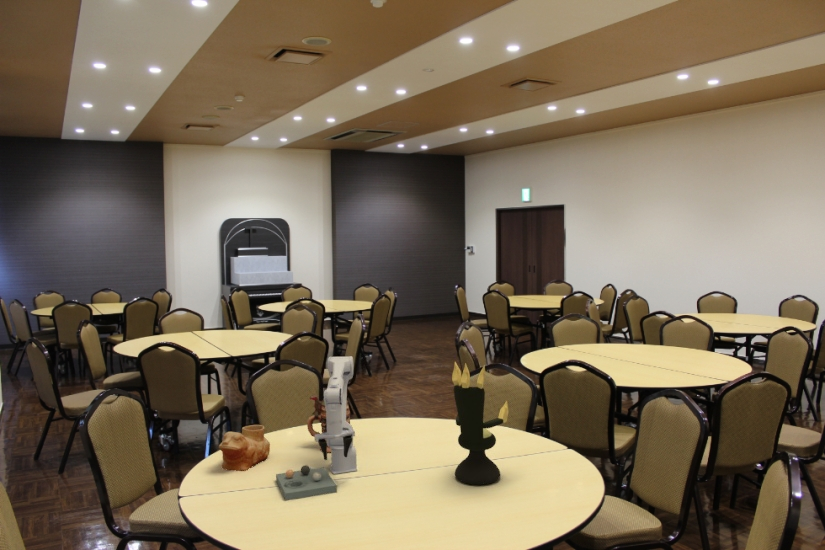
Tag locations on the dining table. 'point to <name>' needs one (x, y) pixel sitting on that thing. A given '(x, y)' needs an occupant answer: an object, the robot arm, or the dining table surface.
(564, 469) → the dining table surface
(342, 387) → the robot arm
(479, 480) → the candelabra
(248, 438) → the ceramic vessel
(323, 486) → the plate
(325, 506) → the dining table surface
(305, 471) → the black ball
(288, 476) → the terracotta ball
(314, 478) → the steel ball
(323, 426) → the beer stein
